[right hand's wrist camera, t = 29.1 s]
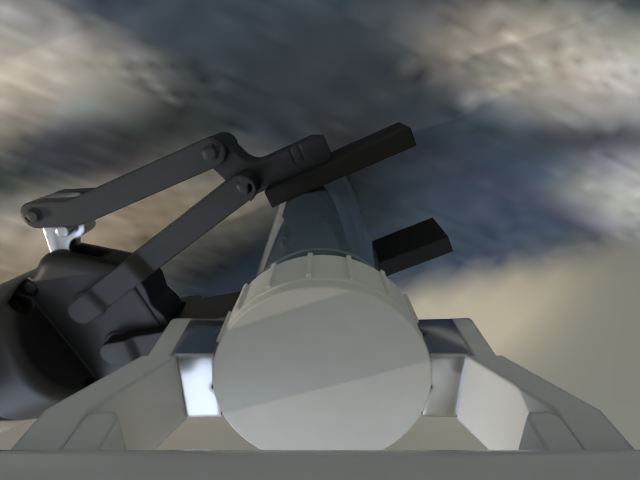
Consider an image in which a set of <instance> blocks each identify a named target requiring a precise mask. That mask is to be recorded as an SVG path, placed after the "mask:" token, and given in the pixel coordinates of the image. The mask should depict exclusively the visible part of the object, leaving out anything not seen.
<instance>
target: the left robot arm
mask: <svg viewBox="0 0 640 480" xmlns="http://www.w3.org/2000/svg"><path fill="white" fill-rule="evenodd" d="M414 146H416V143H415V140H414V137H413V134H412V131H411V128H410V127H408V126H406V125H403V124H401V123H399V122H398V123H396V124H394V125H391V126H389V127H387V128H385V129H382V130H380V131H378V132H376V133H373V134H371V135H369V136H367V137H364V138H362V139H360V140H358V141H355V142H353V143H351V144H349V145H346V146H344V147H342V148H340V149H337V150H335V151H333V152H331V151H330V149H329V147H328V144H327V142H326V140H325V137H324V135H311V136H308V137H306V138H304V139H302V140H300V141H297V142H295V143H293V144H291V145H289V146H286V147H284V148H282V149H280V150H278V151H276V152H273V153H271V154H269V155H267V156H264V157H254V156H252V155H250V154H248V153H247V152H246V151H245V150H244V149H243V148H242V147H241V146H240V145H239V144H238V143H237V140H236V138H235V137H234V136H233V135H232V134H230V133H228V132H221V133H218V134H215V135H213V136H210V137H208V138H205V139H203V140H201V141H198V142H196V143H194V144H192V145H190V146H187V147H185V148H183V149H181V150H179V151H176V152H174V153H172V154H170V155H167V156H165V157H163V158H161V159H159V160H156V161H154V162H152V163H150V164H148V165H145V166H143V167H141V168H139V169H136V170H134V171H132V172H130V173H128V174H125V175H123V176H121V177H119V178H117V179H114V180H112V181H110V182H108V183H106V184H103V185H101V186H99V187H97V188H81V189H64V190H60V191H58V192H55V193H52V194H49V195H47V196H44V197H41V198H39V199H36V200H34V201H31V202H28V203H26V204H24V205H23V206H22V208H21V216H22V218H23V220H24V221H25V222H26V223H27V224H28V225H30V226H32V227H34V228H42V229H43V232H44V235H45V238H46V241H47V244H48V247H49V250H50V253H48V254H46V255H45V256H44V257H43V258H42V260H41V261H40V264H39V266H38V267H37V268H36V269H34V270H32V271H30V272H27V273H25V274H23V275H21V276H18V277H16V278H14V279H12V280H10V281H7V282H5V283H3V284H1V285H0V432H3V431H6V430H8V429H11V428H14V427H17V426H20V425H22V424H25V423H28V422H31V421H33V420H34V419H36V418H39V416H40V415H41V414H42V413H43V412H44V411H45V410H46V409H48V408H50V407H51V406H53V405H55V404H57V403H59V402H60V401H62V400H64V399H66V398H68V397H69V396H71V395H73V394H75V393H76V392H78V391H80V390H82V389H84V388H85V387H87V386H89V385H91V384H93V383H94V382H96V381H98V380H100V379H102V378H103V377H105V376H107V375H109V374H110V373H112V372H114V371H116V370H118V369H119V368H121V367H123V366H125V365H127V364H128V363H130V362H132V361H134V360H135V359H137V358H139V357H141V356H148V355H149V353H150V352H151V350H152V349H153V347H154V346H155V344H156V343H157V341H158V340H159V338H160V337H161V335H162V333H163V332H164V330H165V329H166V327H167V326H168V324H169V323H170V321H171V320H172V319H175V318H192V319H194V318H195V319H226V316H227V314H228V312H229V311H231V312H232V310H233V308H234V306H235V304H236V302H237V300H238V298H239V296H240V293H241V292H237V293H231V294H225V295H219V296H213V297H207V298H202V297H201V296H199V295H195V296H189V297H184V298H179V296H178V295H177V294H176V293H175V292H174V291H172V290H171V289H170V288H169V287H168V286H167V284H166V281H165V278H164V275H163V272H162V270H161V269H160V267H161V266H162V265H164V264H165V263H166V262H168V261H169V260H170V259H172V258H173V257H174V256H176V255H177V254H178V253H180V252H181V251H182V250H184V249H185V248H186V247H188V246H189V245H190V244H192V243H193V242H194V241H196V240H197V239H198V238H200V237H201V236H202V235H204V234H205V233H206V232H208V231H209V230H210V229H212V228H213V227H214V226H216V225H217V224H218V223H220V222H221V221H222V220H224V219H225V218H226V217H228V216H229V215H230V214H232V213H233V212H234V211H236V210H237V209H238V208H239V207H241V206H242V205H243V204H245V203H246V202H247V201H249V200H250V201H251V200H252V199H253V198H254V197H255V195H256V194H257V193H259V192H262V191H264V190H265V194H266V196H267V198H268V200H269V202H270V204H271V206H272V207H275V206H277V205H279V204H282V203H284V202H286V201H289V200H291V199H293V198H295V197H298V196H300V195H302V194H305V193H307V192H309V191H312V190H314V189H316V188H319V187H321V186H323V185H326V184H328V183H330V182H333V181H335V180H337V179H340V178H342V177H344V176H347V175H349V174H351V173H354V172H356V171H358V170H360V169H363V168H365V167H367V166H370V165H372V164H374V163H377V162H379V161H381V160H384V159H386V158H388V157H391V156H393V155H395V154H398V153H400V152H402V151H405V150H407V149H409V148H412V147H414ZM212 168H213V169H215V170H216V171H217V172H218V173H219V174H220V175H221V176H222V177H223V178H224V179H225V180H226V181H225V182H223V183H222V184H221V185H219V186H218V187H217V188H216V189H214V190H213V191H212V192H211V193H209V194H208V195H207V196H205V197H204V198H203V199H202V200H200V201H199V202H198V203H196V204H195V205H194V206H193V207H191V208H190V209H189V210H187V211H186V212H185V213H184V214H182V215H181V216H180V217H179V218H177V219H176V220H175V221H173V222H172V223H171V224H170V225H168V226H167V227H166V228H164V229H163V230H162V231H161V232H159V233H158V234H157V235H155V236H154V237H153V238H151V239H150V240H149V241H148V242H146V243H145V244H144V245H142V246H141V247H140V248H139V249H137V250H136V251H135V252H133V253H131V252H126V251H121V250H116V249H110V248H105V247H100V246H95V245H90V244H85V243H81V241H80V239H81V236H82V235H84V234H86V233H87V232H89V231H91V230H92V229H93V228H94V227H95V224H96V221H95V220H96V219H98V218H100V217H102V216H105V215H107V214H109V213H112V212H114V211H116V210H118V209H121V208H123V207H125V206H128V205H130V204H132V203H134V202H137V201H139V200H141V199H144V198H146V197H148V196H151V195H153V194H155V193H157V192H160V191H162V190H164V189H167V188H169V187H171V186H173V185H176V184H178V183H180V182H183V181H185V180H187V179H189V178H192V177H194V176H196V175H199V174H201V173H203V172H206V171H208V170H210V169H212ZM372 242H373V245H374V248H375V250H376V253H377V256H378V258H379V261H380V264H381V266H382V269H383V271H384V272H385V274H386V276H388V275H391V274H393V273H396V272H399V271H401V270H404V269H407V268H409V267H412V266H415V265H417V264H420V263H423V262H425V261H428V260H431V259H433V258H436V257H439V256H441V255H444V254H447V253H449V252H452V251H453V250H452V247H451V244H450V241H449V238H448V236H447V235H446V234H445V232H444V231H443V230H442V229H441V227H440V226H439V225H438V224H437V223H436V221H435V220H434V219H433V218H430V219H428V220H425V221H422V222H420V223H417V224H415V225H412V226H410V227H407V228H405V229H402V230H400V231H397V232H395V233H392V234H389V235H387V236H384V237H382V238H379V239H377V240H374V241H372Z"/></svg>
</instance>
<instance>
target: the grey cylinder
mask: <svg viewBox="0 0 640 480" xmlns="http://www.w3.org/2000/svg"><path fill="white" fill-rule="evenodd" d="M308 253H313V255H333V256H340V257H345V258H346V256H347V255H349V256H351V259H353V260H356V261H359V262H362V263H364V264H366V265H368V266H370V267H373V268H374V269H376V270H377V271H380V270H383V269H382V266H381V264H380V261H379V258H378V256H377V253H376V250H375V248H374V245H373V242H372V240H371V237H370V234H369V232H368V229H367V226H366V224H365V221H364V218H363V216H362V213H361V210H360V208H359V205H358V202H357V200H356V197H355V194H354V192H353V189H352V186H351V184H350V181H349V180H348V178H347V176H344V177H342V178H340V179H337V180H335V181H333V182H330V183H328V184H326V185H323V186H321V187H319V188H316V189H314V190H312V191H309V192H307V193H305V194H302V195H300V196H298V197H295V198H293V199H291V200H289V201H286V202H284V203H282V204H280V205H279V207H278V210H277V213H276V216H275V219H274V222H273V225H272V228H271V231H270V234H269V237H268V239H267V242H266V245H265V248H264V251H263V254H262V257H261V260H260V263H259V266H258V269H257V271H256V274H255V277H254V279H255V278H257V277H258V276H259V275H260V274H262V273H263V272H265V271H266V270H268V269H270V268H271V264H273V263H276V264H280V263H282V262H284V261H287V260H291V259H294V258H298V257H304V256H308Z"/></svg>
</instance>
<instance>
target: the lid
mask: <svg viewBox="0 0 640 480" xmlns="http://www.w3.org/2000/svg"><path fill="white" fill-rule="evenodd" d="M417 323H419V321H418V318H417V316H416V314H415V311H414V309H413V307H412V305H411V302H410V300H409V298H408V296H407V294H404V295H403V294H402V293H401V291H400V290H399V289H398V288H397V287H396V285H395V284H394V283H393V282H392V281H391V280H389V279H388V278H387V277H386V274H385V272H384V271H383V270H380V271H377V270H376V269H374V268H373V267H370V266H368V265H366V264H364V263H362V262H359V261H356V260H353V259H351V256H349V255H347V256H346V258H345V257H340V256H333V255H313V253H308V256H304V257H298V258H294V259H291V260H287V261H284V262H282V263H280V264H276V263H273V264H271V268H270V269H268V270H266V271H265V272H263V273H262V274H260V275H259V276H258V277H257V278H255V279H254V280H253V281H252V282H251V283H250V284H249V285H248V284H247V283H246V284H245V285H244V286H243V289H242V291H241V293H240V296H239V298H238V300H237V302H236V304H235V306H234V308H233V310H232V312H231V311H229V312H228V314H227V316H226V319H225V321H224V323H223V326H222V328H221V330H220V333H219V335H218V337H217V340H216V342H219V344H218V347H217V350H216V353H215V356H214V360H213V367H212V383H213V389H214V394H215V397H216V400H217V403H218V406H219V407H220V409H221V411H222V413H223V415H224V417H225V418H226V419H227V421H228V422H229V423H230V425H231V426H232V427H233V428H234V429H235V430H236V431H237V432H238V433H239V434H240V435H241V436H242V437H243V438H245V439H246V440H247V441H248V442H250V443H251V444H253V445H254V446H256V447H257V448H259V449H261V450H383V449H385V448H386V447H388V446H390V445H391V444H393V443H394V442H395V441H397V440H398V439H399V438H401V437H402V436H403V435H404V434H405V433H406V432H407V431H408V430H409V429H410V428H411V427H412V426H413V425H414V423H415V422H416V421H417V419H418V418H419V416H420V415H421V413H422V411H423V410H424V408H425V405H426V403H427V400H428V398H429V393H430V389H431V383H432V367H431V360H430V356H429V352H428V349H427V347H426V344H425V342H424V340H423V334H422V332H420V330H419V328H418V326H417Z"/></svg>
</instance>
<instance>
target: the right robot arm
mask: <svg viewBox="0 0 640 480" xmlns="http://www.w3.org/2000/svg"><path fill="white" fill-rule="evenodd" d="M224 321H225V319H195V318H194V319H192V318H175V319H172V320H171V321H170V323H169V324H168V326H167V327H166V329H165V330H164V332H163V333H162V335H161V337H160V338H159V340H158V341H157V343H156V344H155V346H154V347H153V349H152V350H151V352H150V353H149V355H148V356H141V357H139V358H137V359H135V360H134V361H132V362H130V363H128V364H127V365H125V366H123V367H121V368H119V369H118V370H116V371H114V372H112V373H110V374H109V375H107V376H105V377H103V378H102V379H100V380H98V381H96V382H94V383H93V384H91V385H89V386H87V387H85V388H84V389H82V390H80V391H78V392H76V393H75V394H73V395H71V396H69V397H68V398H66V399H64V400H62V401H60V402H59V403H57V404H55V405H53V406H51V407H50V408H48V409H46V410H45V411H44V412H43V413H42V414H41V415H40V416H39V418H38V419H37V420H36V421H35V422H34V423H33V425H32V426H31V427H30V428H29V429H28V430H27V432H26V433H25V434H24V435H23V436H22V437H21V438H20V440H19V441H18V442H17V443H16V444H15V445H14V447H13V448H12V449H11V450H0V480H640V450H635V449H634V448H633V447H632V446H631V445H630V444H629V443H628V441H627V440H626V439H625V438H624V437H623V436H622V435H621V433H620V432H619V431H618V430H617V429H616V428H615V427H614V425H613V424H612V423H611V422H610V421H609V420H608V419H607V417H606V416H605V415H604V414H603V413H602V412H601V411H600V410H598V409H597V408H595V407H593V406H591V405H589V404H588V403H586V402H584V401H582V400H580V399H579V398H577V397H575V396H573V395H571V394H570V393H568V392H566V391H564V390H562V389H561V388H559V387H557V386H555V385H553V384H552V383H550V382H548V381H546V380H544V379H543V378H541V377H539V376H537V375H535V374H534V373H532V372H530V371H528V370H527V369H525V368H523V367H521V366H519V365H518V364H516V363H514V362H512V361H510V360H508V359H507V358H505V357H503V356H496V355H495V354H494V352H493V351H492V349H491V348H490V346H489V345H488V343H487V342H486V340H485V339H484V337H483V336H482V334H481V333H480V331H479V330H478V328H477V327H476V326H475V324H474V323H473V321H472V320H471V319H469V318H457V319H427V320H418V321H419V323H417V326H418V328H419V330H420V332H422V334H423V340H424V342H425V344H426V347H427V349H428V352H429V356H430V360H431V367H432V383H431V389H430V393H429V398H428V400H427V403H426V405H425V408H424V410H423V411H422V416H432V417H457V419H458V420H459V421H460V422H461V423H462V424H463V425H464V426H465V427H466V428H467V429H468V430H469V431H470V432H471V433H472V434H473V435H474V436H476V438H478V439H479V440H480V441H481V442H482V443H483V444H484V445H485V446H486V447H487V448H488V449H489V450H155V449H156V448H157V447H158V446H159V445H160V444H161V443H162V442H163V441H164V440H165V439H166V438H168V436H170V435H171V434H172V433H173V432H174V431H175V430H176V429H177V428H178V427H179V426H180V425H181V424H182V423H183V422H184V421H185V420H186V417H211V416H221V415H222V411H221V409H220V407H219V406H218V403H217V400H216V397H215V394H214V389H213V383H212V367H213V360H214V356H215V353H216V350H217V347H218V344H219V342H216V340H217V337H218V335H219V333H220V330H221V328H222V326H223V323H224Z"/></svg>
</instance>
